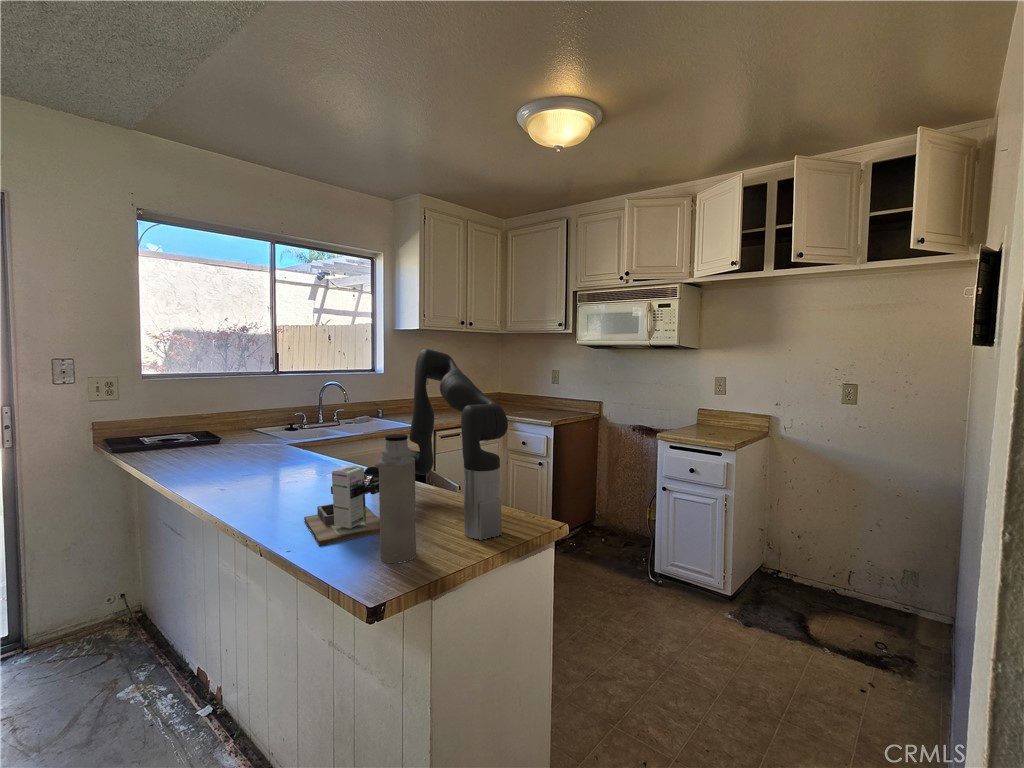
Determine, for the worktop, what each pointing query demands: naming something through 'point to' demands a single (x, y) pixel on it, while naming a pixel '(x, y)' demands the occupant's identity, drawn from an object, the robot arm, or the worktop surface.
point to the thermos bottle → (397, 500)
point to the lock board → (332, 533)
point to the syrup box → (348, 497)
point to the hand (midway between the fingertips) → (342, 492)
